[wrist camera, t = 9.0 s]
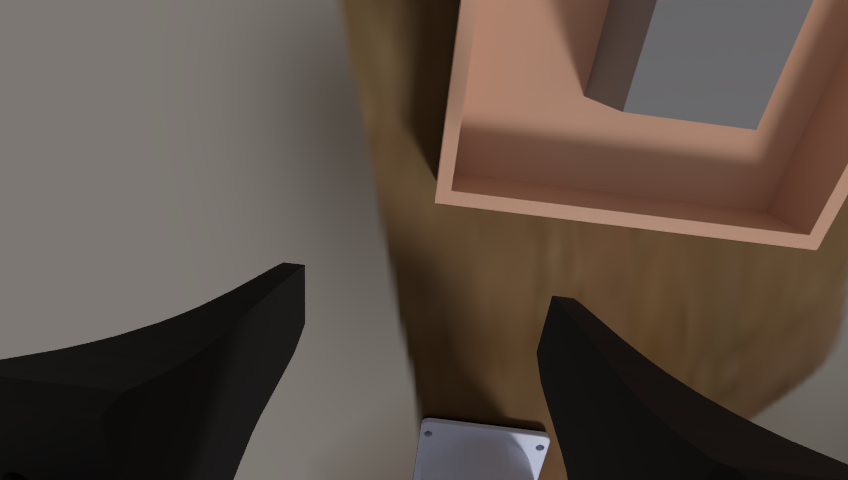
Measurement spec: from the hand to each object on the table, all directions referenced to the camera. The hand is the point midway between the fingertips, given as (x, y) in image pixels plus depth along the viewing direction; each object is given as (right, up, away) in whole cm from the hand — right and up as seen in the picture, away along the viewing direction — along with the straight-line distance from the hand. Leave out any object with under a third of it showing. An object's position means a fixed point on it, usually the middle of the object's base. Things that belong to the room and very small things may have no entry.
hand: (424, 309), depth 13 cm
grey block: (+9, +10, +5) cm, 14 cm away
